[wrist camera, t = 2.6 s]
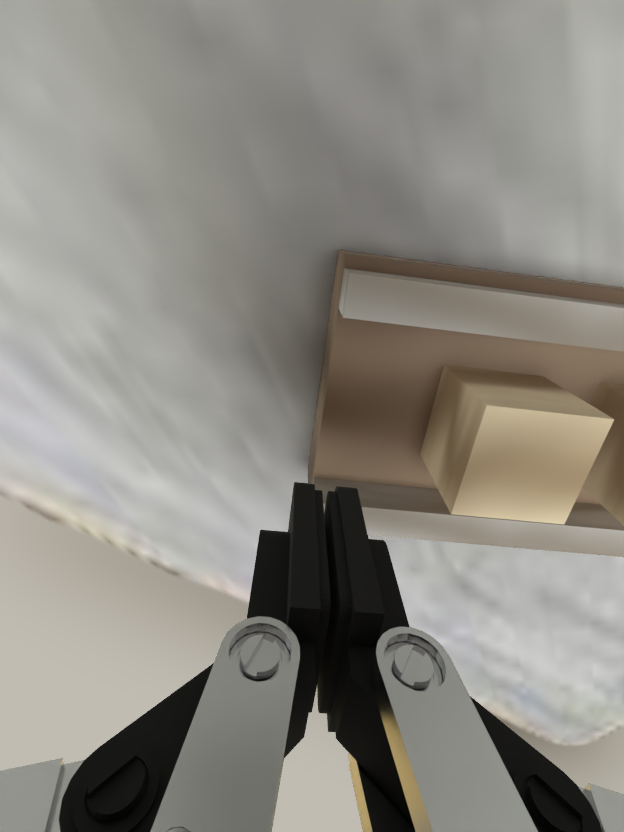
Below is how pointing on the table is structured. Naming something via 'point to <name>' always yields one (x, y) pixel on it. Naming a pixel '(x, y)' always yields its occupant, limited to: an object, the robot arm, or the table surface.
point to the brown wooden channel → (420, 375)
